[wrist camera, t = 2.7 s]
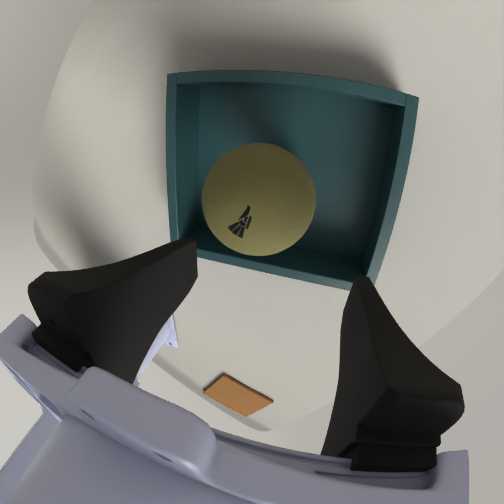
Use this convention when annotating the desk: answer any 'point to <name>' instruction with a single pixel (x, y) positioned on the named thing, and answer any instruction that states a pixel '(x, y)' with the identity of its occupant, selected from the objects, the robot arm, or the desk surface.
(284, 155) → the light bulb
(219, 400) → the mat
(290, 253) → the box
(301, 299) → the desk surface
